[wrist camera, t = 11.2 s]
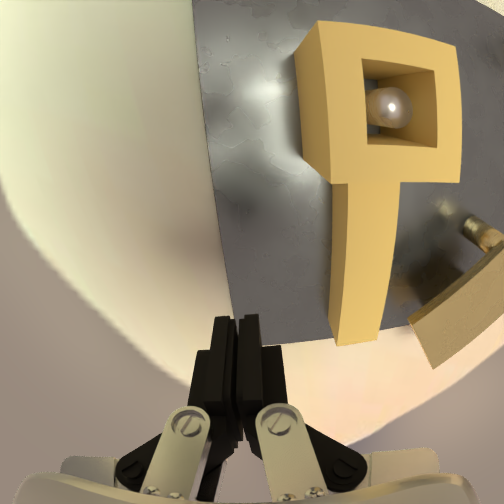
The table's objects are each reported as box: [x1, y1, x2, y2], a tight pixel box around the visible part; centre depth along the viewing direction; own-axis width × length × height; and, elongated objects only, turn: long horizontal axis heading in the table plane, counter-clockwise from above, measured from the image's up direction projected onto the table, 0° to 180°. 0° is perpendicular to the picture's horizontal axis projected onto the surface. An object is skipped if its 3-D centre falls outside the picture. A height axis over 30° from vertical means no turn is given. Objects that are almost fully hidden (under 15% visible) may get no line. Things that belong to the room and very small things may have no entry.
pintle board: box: [192, 0, 504, 369], centre depth 13 cm, size 29×28×6 cm
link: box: [294, 21, 462, 346], centre depth 14 cm, size 18×6×6 cm, turn 6°
